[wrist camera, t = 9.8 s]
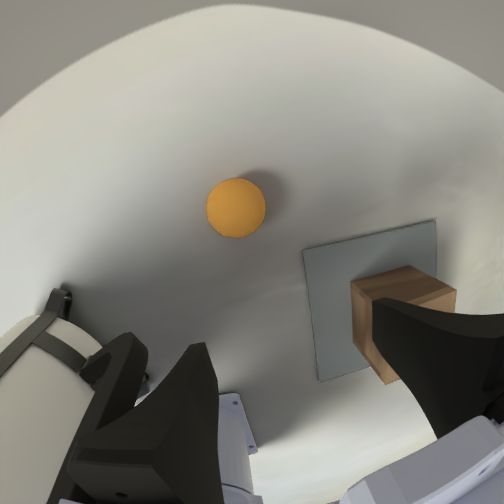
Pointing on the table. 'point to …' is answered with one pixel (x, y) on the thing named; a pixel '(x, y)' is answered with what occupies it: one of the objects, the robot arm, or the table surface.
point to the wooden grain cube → (399, 288)
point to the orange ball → (236, 208)
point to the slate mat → (339, 291)
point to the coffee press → (59, 399)
